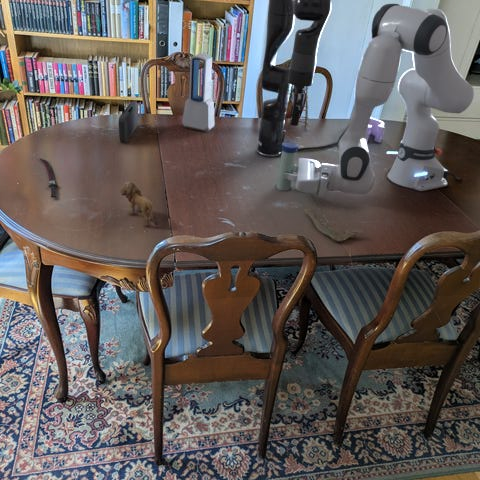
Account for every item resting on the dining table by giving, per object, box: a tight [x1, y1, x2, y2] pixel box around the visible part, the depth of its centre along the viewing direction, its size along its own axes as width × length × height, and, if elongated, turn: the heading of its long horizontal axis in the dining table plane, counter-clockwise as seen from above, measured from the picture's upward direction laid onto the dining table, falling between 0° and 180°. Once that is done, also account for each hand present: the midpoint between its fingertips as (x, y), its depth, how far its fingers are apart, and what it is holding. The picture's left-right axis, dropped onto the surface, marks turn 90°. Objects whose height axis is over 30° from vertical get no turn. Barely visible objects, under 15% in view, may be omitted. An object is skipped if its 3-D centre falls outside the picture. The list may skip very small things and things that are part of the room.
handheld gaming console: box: [117, 101, 139, 143], centre depth 187 cm, size 23×3×10 cm, turn 178°
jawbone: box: [303, 208, 364, 243], centre depth 139 cm, size 9×20×2 cm, turn 50°
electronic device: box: [181, 53, 216, 133], centre depth 194 cm, size 12×8×30 cm, turn 71°
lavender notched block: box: [366, 116, 386, 143], centre depth 214 cm, size 20×12×7 cm, turn 11°
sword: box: [40, 158, 59, 198], centre depth 151 cm, size 31×3×1 cm, turn 26°
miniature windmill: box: [288, 87, 309, 132], centre depth 208 cm, size 9×8×30 cm
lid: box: [281, 141, 299, 153], centre depth 153 cm, size 5×5×2 cm
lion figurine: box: [119, 181, 159, 227], centre depth 134 cm, size 15×5×9 cm, turn 50°
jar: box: [276, 151, 297, 192], centre depth 157 cm, size 5×5×15 cm
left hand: (293, 120), depth 148 cm, fingers open, 7 cm apart
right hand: (283, 171), depth 158 cm, fingers closed on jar, 5 cm apart
